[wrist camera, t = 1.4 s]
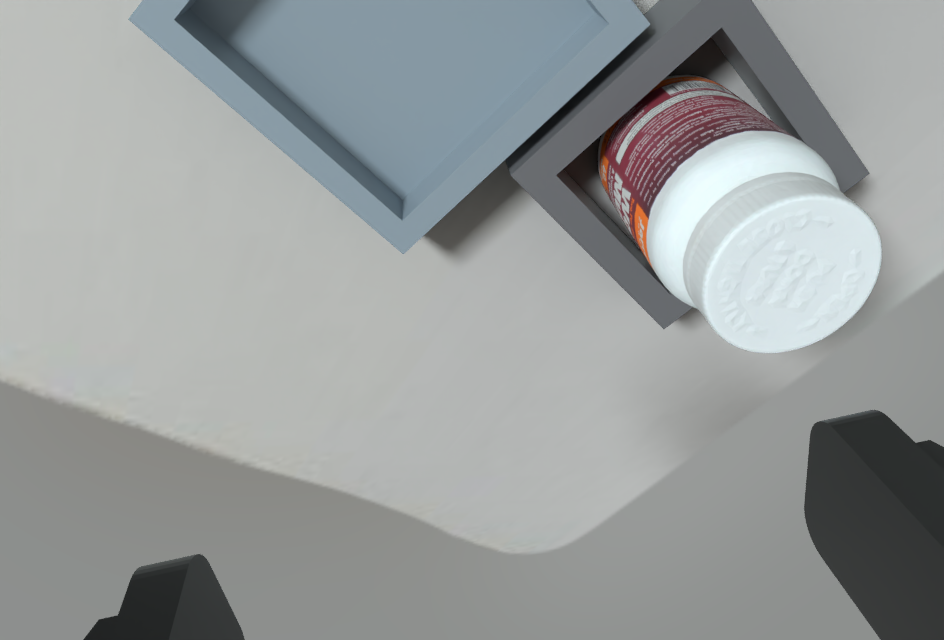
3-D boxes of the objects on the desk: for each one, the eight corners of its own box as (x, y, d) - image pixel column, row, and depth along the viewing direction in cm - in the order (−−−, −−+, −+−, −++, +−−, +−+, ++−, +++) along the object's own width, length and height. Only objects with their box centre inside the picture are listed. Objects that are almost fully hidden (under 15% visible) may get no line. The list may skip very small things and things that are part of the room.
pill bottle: (564, 158, 30) (637, 297, 21) (676, 36, 28) (817, 129, 18) (663, 242, 33) (769, 402, 23) (773, 136, 30) (942, 264, 21)
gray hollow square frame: (700, -39, 27) (732, -28, 24) (831, 147, 31) (869, 173, 28) (501, 148, 30) (510, 175, 27) (644, 294, 34) (663, 329, 31)
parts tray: (388, -298, 22) (386, -318, 20) (627, 8, 27) (650, 24, 25) (155, 3, 26) (128, 19, 23) (403, 221, 31) (403, 254, 29)
